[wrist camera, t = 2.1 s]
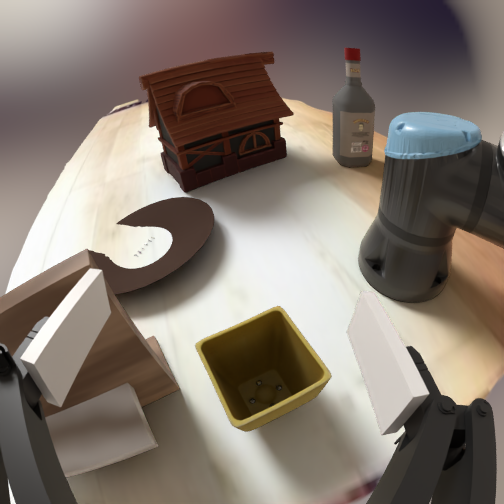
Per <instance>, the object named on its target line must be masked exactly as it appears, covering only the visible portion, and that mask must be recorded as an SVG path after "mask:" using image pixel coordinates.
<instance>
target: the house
mask: <svg viewBox="0 0 504 504" xmlns="http://www.w3.org/2000/svg"><path fill="white" fill-rule="evenodd" d="M273 56H274V54H273V52H261V53H250V54H243V55H235V56H228V57H221V58H214V59H208V60H204V61H199V62H194V63H189V64H185V65H180V66H176V67H172V68H168V69H164V70H160V71H156V72H153V73H149V74H146V75H142V76H140V77H139V81H140V83H141V84H140V85H141V89H142V90H146V89H147V95H148V103H149V127H153V126H156V128H157V130H159V134H160V137H159V138H158V140H159V141H160V142H162V146H163V150H164V152H162V153H161V158H162V161H163V165H164V169H165V170H166V171H167V173H170V174H171V175H172V176H173V178H174V179H175V180H176V181H177V182H178V183H179V184H180V188H181V189H182V190H183V191H184V192H188V191H191V190H193V189H196V188H197V187H201V186H204V185H206V184H209V183H212V182H215V181H217V180H220V179H223V178H225V177H228V176H231V175H234V174H237V173H238V172H242V171H245V170H248V169H251V168H254V167H257V166H260V165H263V164H266V163H269V162H272V161H275V160H279V159H282V158H285V157H286V156H287V153H286V141H285V139H284V138H282V137H281V136H280V125H282V124H283V122H279V118H283V117H287V116H292V115H293V114H294V113H293V112H292V111H291V110H290V108H289V107H288V106H287V105H286V103H285V102H284V101H283V100H282V98H281V97H280V96H279V94H278V93H277V91H276V89H275V87H274V86H273V84H272V82H271V81H270V78H269V76H268V75H267V72H266V70H265V69H264V68H265V66H264V65H265V64H274V58H273Z"/></svg>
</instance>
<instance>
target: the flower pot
mask: <svg viewBox="0 0 504 504" xmlns="http://www.w3.org/2000/svg"><path fill="white" fill-rule="evenodd" d="M195 347H196V350H197V352H198V354H199V356H200V358H201V360H202V362H203V364H204V367H205V369H206V371H207V373H208V375H209V377H210V379H211V381H212V384H213V386H214V388H215V390H216V393H217V395H218V397H219V399H220V401H221V403H222V405H223V408H224V410H225V412H226V414H227V416H228V419H229V421H230V423H231V424H232V426H234V427H236V428H238V429H240V430H242V431H246V432H248V431H252V430H254V429H256V428H258V427H260V426H262V425H264V424H266V423H268V422H270V421H272V420H274V419H276V418H278V417H280V416H282V415H284V414H286V413H288V412H290V411H292V410H294V409H296V408H297V407H299V406H301V405H303V404H305V403H307V402H309V401H311V400H312V399H314V398H315V397H316V396H317V395H318V394H319V393H320V392H321V390H322V389H323V388H324V387H325V385H326V384H327V383H328V381H329V380H330V378H331V373H330V371H329V370H328V368H327V367H326V366H325V364H324V363H323V362H322V360H321V359H320V357H319V356H318V355H317V353H316V352H315V351H314V350H313V348H312V347H311V346H310V344H309V343H308V341H307V340H306V339H305V337H304V336H303V335H302V334H301V332H300V331H299V329H298V328H297V327H296V325H295V324H294V323H293V321H292V320H291V318H290V317H289V316H288V314H287V313H286V312H285V310H284V309H283V308H281V307H280V306H276V307H273V308H271V309H269V310H267V311H265V312H262V313H260V314H258V315H256V316H254V317H252V318H250V319H248V320H246V321H243V322H241V323H239V324H237V325H235V326H232V327H230V328H228V329H225V330H223V331H220V332H218V333H216V334H213V335H211V336H209V337H206V338H204V339H202V340H201V341H199V342H198V343H196V345H195ZM258 381H261V382H262V384H261V385H257V382H258ZM277 386H281V388H282V389H281V390H277V389H276V388H277ZM251 399H254V400H255V402H254V403H250V400H251ZM271 404H274V406H272V407H270V405H271Z"/></svg>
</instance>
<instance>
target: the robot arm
mask: <svg viewBox="0 0 504 504" xmlns="http://www.w3.org/2000/svg"><path fill="white" fill-rule="evenodd" d="M481 139H482V135H481V132H480V129H479V128H478V127H477V126H476V125H475V124H473V123H471V122H469V121H466V120H462V119H461V118H458V117H454V116H450V115H445V114H439V113H430V112H410V113H405V114H401V115H399V116H397V117H395V118H394V119H393V120H392V122H391V123H390V126H389V132H388V139H387V145H386V147H385V151H384V152H385V164H384V173H383V181H382V189H381V196H380V204H379V210H378V214H377V216H376V218H375V220H374V221H373V223H372V225H371V226H370V228H369V230H368V231H367V233H366V235H365V236H364V238H363V240H362V242H361V246H360V251H359V257H358V262H359V267H360V270H361V272H362V274H363V276H364V277H365V279H366V280H367V281H368V282H369V284H370V285H371V286H373V287H374V288H375V289H376V290H378V291H379V292H381V293H382V294H384V295H386V296H388V297H390V298H393V299H395V300H399V301H403V302H412V303H416V302H424V301H427V300H430V299H432V298H434V297H436V296H437V295H438V294H439V293H440V292H441V291H442V290H443V288H444V286H445V284H446V282H447V280H448V278H449V275H450V270H451V257H452V239H453V236H454V233H455V230H456V228H459V229H462V230H464V231H467V232H469V233H471V234H473V235H476V236H478V237H480V238H482V239H484V240H487V241H489V242H491V243H493V244H495V245H497V246H499V247H501V248H503V249H504V131H503V133H502V135H501V138H500V141H499V145H498V146H496V145H494V144H491V143H488V142H486V141H483V140H481ZM110 314H111V310H110V305H109V301H108V296H107V292H106V287H105V282H104V277H103V271H102V270H99V269H91V268H90V269H89V270H88V271H87V272H86V274H85V275H84V276H83V277H82V278H81V279H80V281H79V282H78V283H77V284H76V285H75V286H74V288H73V289H72V290H71V291H70V292H69V294H68V295H67V296H66V297H65V299H64V300H63V301H62V302H61V303H60V305H59V306H58V307H57V309H56V310H55V311H54V312H53V314H52V315H51V316H50V317H44V318H43V319H41V320H40V321H39V322H37V323H36V325H35V326H34V327H33V329H32V331H30V333H29V334H28V335H27V337H26V338H25V339H24V341H23V342H22V344H21V345H20V346H19V348H18V349H17V351H16V352H15V353H14V355H13V356H11V354H10V352H9V350H8V348H7V347H6V346H5V345H4V344H1V343H0V504H11V503H10V496H9V487H8V480H9V484H10V487H11V490H12V493H13V496H14V499H15V502H16V504H77V502H76V499H75V497H74V495H73V493H72V491H71V489H70V487H69V484H68V482H67V480H66V477H65V475H64V472H63V470H62V467H61V465H60V462H59V459H58V457H57V454H56V451H55V448H54V445H53V442H52V439H51V436H50V433H49V429H48V426H47V422H46V419H45V415H44V411H43V407H42V404H41V401H40V400H39V399H40V397H41V395H43V396H44V398H45V399H46V401H47V402H48V403H51V404H53V405H56V406H59V407H61V406H62V404H63V402H64V400H65V398H66V396H67V394H68V392H69V390H70V388H71V386H72V384H73V382H74V380H75V378H76V376H77V374H78V372H79V370H80V368H81V366H82V364H83V362H84V360H85V358H86V357H87V355H88V353H89V351H90V349H91V347H92V346H93V344H94V342H95V340H96V338H97V337H98V335H99V333H100V331H101V330H102V328H103V326H104V324H105V323H106V321H107V319H108V317H109V316H110ZM347 335H348V337H349V340H350V343H351V345H352V348H353V351H354V354H355V356H356V359H357V362H358V365H359V368H360V371H361V373H362V376H363V379H364V382H365V385H366V388H367V391H368V394H369V397H370V400H371V403H372V406H373V410H374V413H375V416H376V419H377V422H378V426H379V429H380V432H381V435H385V434H391V433H395V432H397V431H398V430H399V429H400V428H401V427H402V426H403V425H404V428H405V432H404V433H403V434H402V435H401V436H400V437H399V438H398V439H397V440H396V442H395V443H394V444H397V443H398V442H399V444H398V446H397V448H396V450H395V452H394V454H393V456H392V458H391V460H390V462H389V464H388V466H387V468H386V470H385V472H384V474H383V476H382V478H381V479H380V481H379V483H378V485H377V486H376V488H375V490H374V492H373V493H372V495H371V497H370V498H369V500H368V502H367V503H366V504H429V502H430V500H431V497H432V500H431V504H495V496H496V442H495V441H496V440H495V428H494V418H493V411H492V407H491V406H490V404H489V403H488V402H487V401H486V400H484V399H481V398H477V399H475V400H474V401H473V402H472V403H471V404H470V405H469V406H465V405H456V403H455V402H454V401H453V400H452V399H451V398H450V397H448V396H444V395H441V393H440V392H439V390H438V388H437V386H436V384H435V382H434V380H433V378H432V376H431V374H430V372H429V371H428V368H427V366H426V364H424V361H423V359H422V357H421V355H420V353H418V352H417V351H416V350H415V349H414V348H413V347H412V346H408V347H406V346H405V345H404V343H403V341H402V339H401V337H400V335H399V334H398V332H397V330H396V328H395V326H394V325H393V323H392V321H391V319H390V317H389V316H388V314H387V312H386V311H385V309H384V307H383V305H382V304H381V302H380V300H379V299H378V297H377V295H376V294H375V292H372V291H361V293H360V296H359V299H358V302H357V305H356V308H355V311H354V314H353V316H352V319H351V322H350V325H349V327H348V330H347ZM465 443H466V448H465Z"/></svg>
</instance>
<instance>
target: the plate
mask: <svg viewBox="0 0 504 504" xmlns="http://www.w3.org/2000/svg"><path fill="white" fill-rule="evenodd" d="M117 224H120V225H128V226H133V227H136V226H141V227H146V226H148V227H151V226H152V227H161V228H164V229H166V230H168V231H169V232H170V233H171V234H172V237H173V241H172V245H171V247H170V249H169V250H168V251H167V253H166V254H165V255H164V256H163V257H161V258H160V259H159V260H157V261H156V262H154V263H152V264H150V265H148V266H145V267H142V268H136V269H127V268H123V267H120V266H118V265H116V264H114V263H113V262H112V260H110V259H109V257H106V256H105V254H102V253H96V252H94V251H90V250H89V252H90V254H91V256H92V258H93V259H94V261H95V263H96V265H97V266H98V268H99V270H102V271H103V276H104V278H105V280H106V281H107V283H108V285H109V286H110V288H111V290H112V291H113V293H114V294H120V293H125V292H130V291H133V290H136V289H139V288H142V287H145V286H147V285H149V284H151V283H153V282H155V281H157V280H160V279H162V278H163V277H165V276H167V275H168V274H170V273H171V272H173V271H175V270H176V269H178V268H179V267H180V266H182V265H183V264H184V263H185V262H186V261H188V260H189V259H190V258H191V257H193V255H194V254H195V253H196V252H197V251H198V250H199V249H200V248H201V247H202V246H203V244H204V243H205V241H206V240H207V238H208V237H209V235H210V233H211V230H212V228H213V225H214V214H213V211H212V209H211V207H210V206H209V205H208V204H207V203H205V202H203V201H202V200H199V199H195V198H190V197H179V198H171V199H166V200H162V201H159V202H156V203H153V204H150V205H148V206H146V207H143V208H141V209H139V210H137V211H135V212H134V213H132V214H130V215H128V216H127V217H125V218H124V219H122V220H121V221H119V222H118V223H117ZM151 238H153V237H151ZM153 239H154V238H153ZM148 241H150V240H149V239H148ZM150 242H151V241H150ZM145 244H146V243H145ZM138 252H141V251H138ZM134 256H137V255H134Z"/></svg>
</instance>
